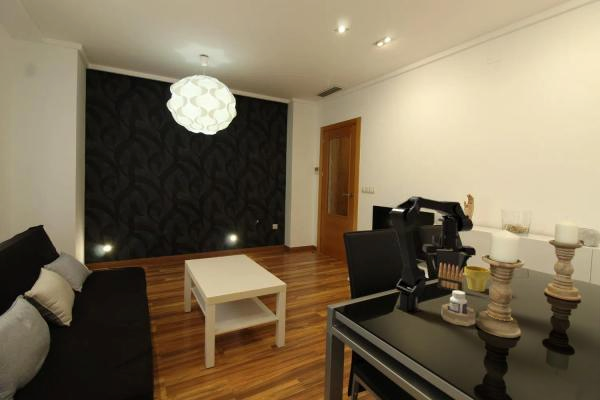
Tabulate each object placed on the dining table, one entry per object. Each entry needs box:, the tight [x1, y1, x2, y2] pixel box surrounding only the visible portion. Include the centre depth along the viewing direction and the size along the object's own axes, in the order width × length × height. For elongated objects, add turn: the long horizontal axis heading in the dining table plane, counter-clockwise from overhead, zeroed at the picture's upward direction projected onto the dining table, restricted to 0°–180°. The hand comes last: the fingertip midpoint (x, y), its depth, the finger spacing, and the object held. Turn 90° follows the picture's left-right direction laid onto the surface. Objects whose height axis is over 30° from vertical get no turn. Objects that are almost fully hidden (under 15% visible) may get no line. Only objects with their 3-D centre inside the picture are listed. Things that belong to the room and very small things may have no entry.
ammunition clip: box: [437, 262, 464, 292], centre depth 137 cm, size 11×2×12 cm, turn 45°
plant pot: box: [463, 265, 491, 293], centre depth 138 cm, size 10×10×10 cm
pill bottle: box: [449, 290, 468, 314], centre depth 106 cm, size 5×5×10 cm
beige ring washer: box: [440, 302, 477, 327], centre depth 106 cm, size 10×10×4 cm
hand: (447, 270), depth 122 cm, fingers open, 9 cm apart
